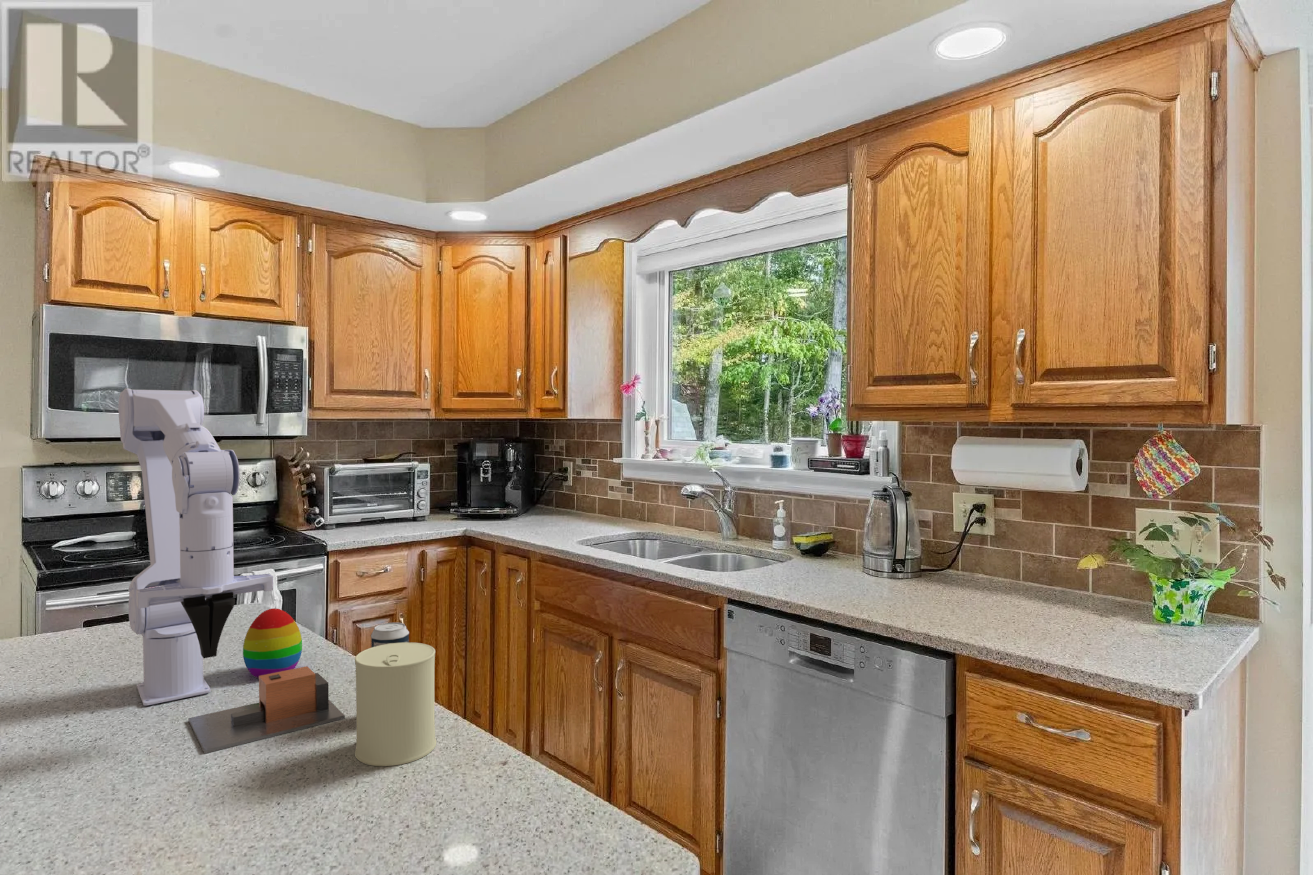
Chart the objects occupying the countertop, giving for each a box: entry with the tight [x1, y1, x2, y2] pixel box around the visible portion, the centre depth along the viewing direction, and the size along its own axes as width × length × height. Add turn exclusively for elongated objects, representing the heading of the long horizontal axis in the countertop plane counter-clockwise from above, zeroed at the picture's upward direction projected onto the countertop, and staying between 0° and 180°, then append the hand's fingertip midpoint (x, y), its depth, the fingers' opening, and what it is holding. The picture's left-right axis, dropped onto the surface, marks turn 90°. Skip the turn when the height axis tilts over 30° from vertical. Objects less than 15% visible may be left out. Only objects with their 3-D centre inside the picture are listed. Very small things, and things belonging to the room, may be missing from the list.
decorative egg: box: [242, 607, 303, 679], centre depth 115 cm, size 8×8×10 cm
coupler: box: [187, 672, 346, 754], centre depth 97 cm, size 12×16×4 cm
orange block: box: [258, 665, 316, 723], centre depth 99 cm, size 4×6×5 cm, turn 130°
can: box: [354, 641, 437, 767], centre depth 89 cm, size 9×9×12 cm
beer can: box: [370, 622, 410, 648], centre depth 99 cm, size 5×5×12 cm
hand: (208, 655), depth 93 cm, fingers closed
